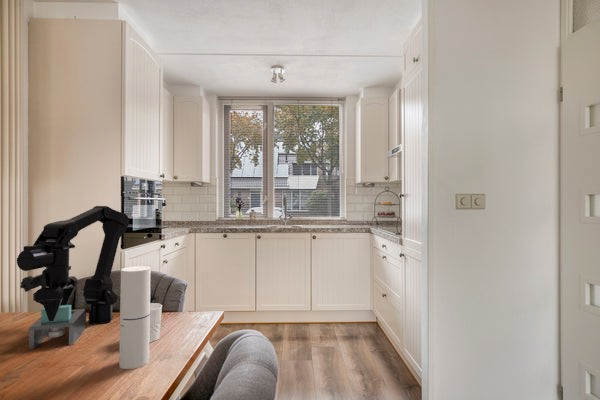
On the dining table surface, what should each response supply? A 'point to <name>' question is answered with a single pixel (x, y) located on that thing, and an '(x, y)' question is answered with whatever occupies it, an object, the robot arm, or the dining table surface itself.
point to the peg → (57, 320)
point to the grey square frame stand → (74, 323)
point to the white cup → (155, 321)
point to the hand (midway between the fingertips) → (56, 315)
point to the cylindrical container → (134, 317)
